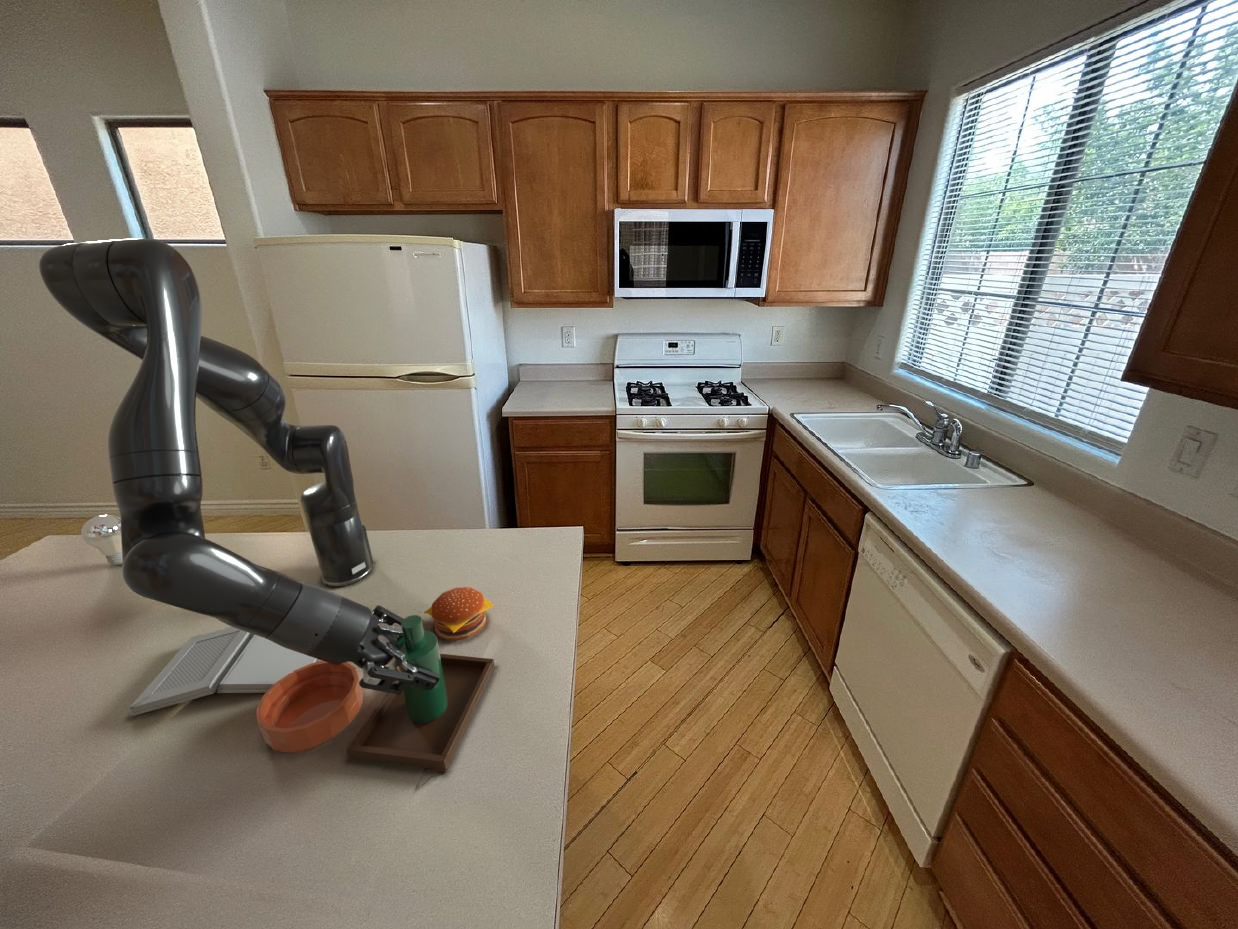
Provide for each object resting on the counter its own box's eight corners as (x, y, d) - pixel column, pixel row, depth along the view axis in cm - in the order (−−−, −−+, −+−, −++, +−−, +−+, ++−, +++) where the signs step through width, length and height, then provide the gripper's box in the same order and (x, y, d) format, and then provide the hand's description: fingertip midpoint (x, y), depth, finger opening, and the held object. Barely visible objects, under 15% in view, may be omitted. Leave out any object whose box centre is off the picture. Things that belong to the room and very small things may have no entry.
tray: (416, 660, 79) (414, 651, 79) (494, 668, 78) (493, 658, 77) (349, 760, 63) (346, 749, 62) (446, 772, 62) (444, 761, 61)
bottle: (420, 690, 73) (403, 606, 67) (454, 694, 73) (440, 609, 66) (400, 722, 68) (380, 634, 62) (437, 726, 67) (420, 638, 61)
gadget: (336, 626, 87) (332, 610, 86) (304, 692, 73) (298, 674, 72) (193, 644, 83) (186, 627, 81) (131, 718, 69) (121, 699, 68)
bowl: (308, 678, 76) (301, 656, 74) (380, 685, 75) (375, 664, 73) (242, 749, 65) (232, 726, 63) (326, 760, 63) (318, 737, 62)
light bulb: (147, 561, 106) (126, 514, 101) (104, 577, 100) (79, 527, 96) (136, 552, 109) (115, 505, 105) (94, 567, 104) (70, 518, 99)
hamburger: (464, 602, 93) (460, 574, 91) (497, 621, 88) (494, 592, 86) (422, 629, 86) (417, 600, 84) (456, 652, 81) (451, 621, 79)
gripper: (332, 638, 53) (456, 684, 62) (345, 569, 65) (447, 616, 74) (289, 688, 53) (419, 727, 62) (310, 610, 66) (416, 652, 74)
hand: (434, 666), depth 68 cm, fingers closed on bottle, 5 cm apart
